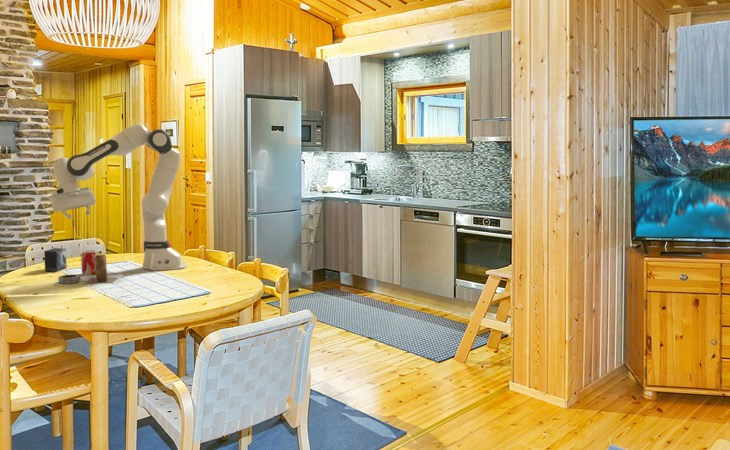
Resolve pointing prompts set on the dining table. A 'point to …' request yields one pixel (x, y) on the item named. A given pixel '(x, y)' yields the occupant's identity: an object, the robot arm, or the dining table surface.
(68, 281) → the ring stand
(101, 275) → the peg
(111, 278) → the pad
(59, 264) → the small box
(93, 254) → the soda can
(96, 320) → the dining table surface
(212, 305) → the dining table surface
